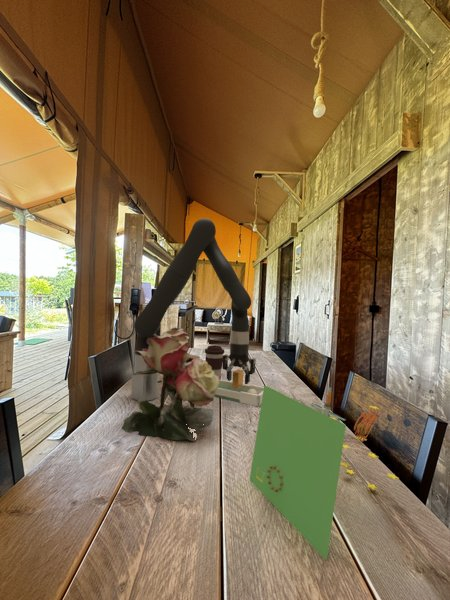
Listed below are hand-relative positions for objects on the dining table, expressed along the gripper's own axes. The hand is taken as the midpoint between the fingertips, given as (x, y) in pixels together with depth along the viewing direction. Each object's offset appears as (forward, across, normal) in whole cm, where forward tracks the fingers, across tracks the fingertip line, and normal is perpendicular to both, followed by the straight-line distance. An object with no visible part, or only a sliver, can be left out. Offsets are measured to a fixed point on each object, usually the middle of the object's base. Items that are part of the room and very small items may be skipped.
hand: (237, 381), depth 116 cm
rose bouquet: (+6, -8, -31) cm, 32 cm away
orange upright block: (+5, 0, 0) cm, 5 cm away
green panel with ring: (+6, +40, -42) cm, 58 cm away
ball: (+4, +6, 0) cm, 7 cm away
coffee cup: (+6, -22, +19) cm, 30 cm away
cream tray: (+6, 0, 0) cm, 6 cm away
